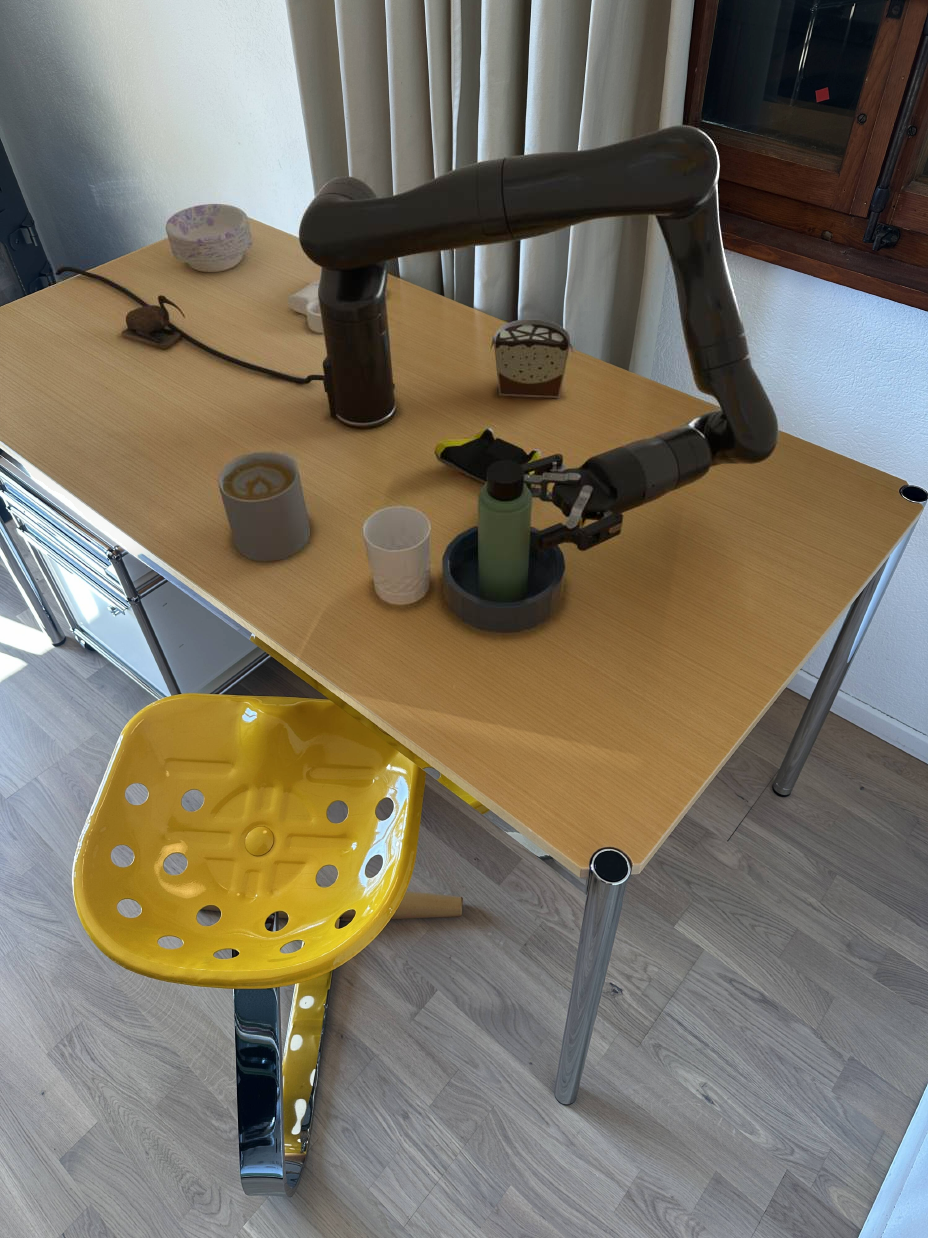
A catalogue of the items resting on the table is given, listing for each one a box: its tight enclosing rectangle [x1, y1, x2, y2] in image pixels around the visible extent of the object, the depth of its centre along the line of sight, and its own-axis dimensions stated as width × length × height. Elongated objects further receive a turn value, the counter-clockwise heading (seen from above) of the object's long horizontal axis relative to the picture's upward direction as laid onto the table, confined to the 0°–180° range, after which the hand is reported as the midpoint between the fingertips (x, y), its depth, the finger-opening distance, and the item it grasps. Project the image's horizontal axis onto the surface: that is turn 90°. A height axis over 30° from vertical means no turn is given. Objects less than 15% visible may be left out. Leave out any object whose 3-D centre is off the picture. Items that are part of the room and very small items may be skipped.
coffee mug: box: [217, 450, 311, 563], centre depth 112 cm, size 13×10×10 cm
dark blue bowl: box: [441, 525, 566, 634], centre depth 106 cm, size 15×15×5 cm
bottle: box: [477, 460, 533, 603], centre depth 101 cm, size 6×6×18 cm
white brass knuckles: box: [287, 278, 324, 334], centre depth 154 cm, size 3×18×15 cm
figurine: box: [120, 294, 186, 350], centre depth 146 cm, size 14×4×9 cm, turn 62°
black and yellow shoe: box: [434, 427, 542, 488], centre depth 120 cm, size 15×6×10 cm
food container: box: [489, 318, 574, 399], centre depth 134 cm, size 12×6×10 cm, turn 84°
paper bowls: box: [165, 203, 253, 273], centre depth 165 cm, size 15×15×8 cm
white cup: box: [362, 505, 432, 606], centre depth 105 cm, size 8×8×10 cm
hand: (514, 520), depth 100 cm, fingers open, 8 cm apart
